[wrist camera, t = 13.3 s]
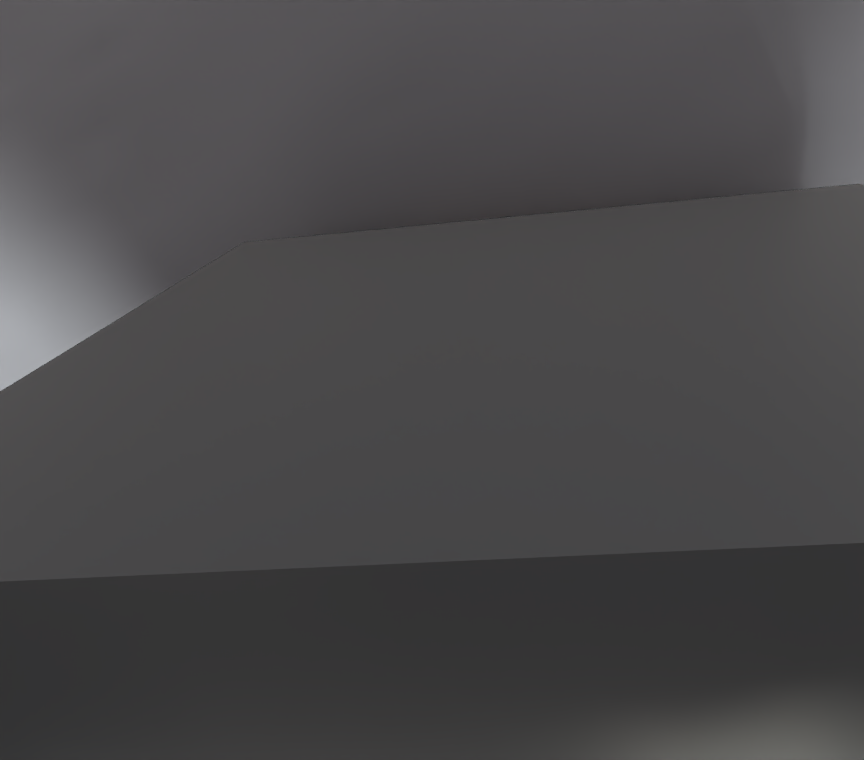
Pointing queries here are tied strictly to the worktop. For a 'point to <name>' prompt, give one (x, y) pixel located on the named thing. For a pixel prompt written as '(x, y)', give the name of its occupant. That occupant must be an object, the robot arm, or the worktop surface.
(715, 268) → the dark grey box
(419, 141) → the worktop surface
